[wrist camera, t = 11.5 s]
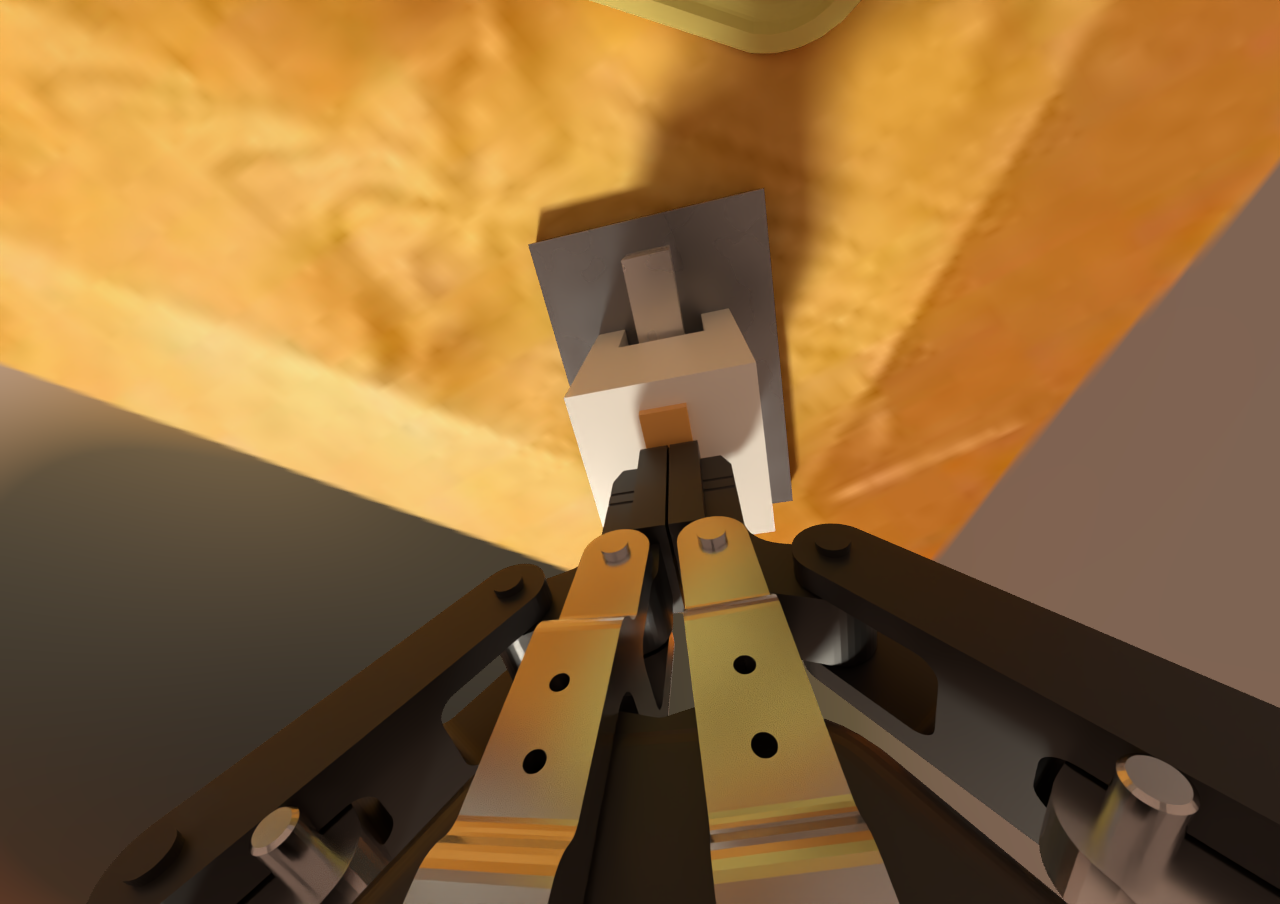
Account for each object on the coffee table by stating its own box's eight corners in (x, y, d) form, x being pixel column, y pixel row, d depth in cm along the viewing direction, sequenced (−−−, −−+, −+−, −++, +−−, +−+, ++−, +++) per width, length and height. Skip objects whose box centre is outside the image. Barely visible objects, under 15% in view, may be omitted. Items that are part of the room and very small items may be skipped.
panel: (535, 242, 18) (511, 249, 15) (759, 188, 17) (775, 186, 14) (613, 513, 23) (605, 555, 20) (787, 488, 22) (803, 528, 19)
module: (598, 335, 18) (561, 402, 12) (728, 308, 17) (757, 365, 11) (628, 452, 20) (609, 559, 14) (745, 433, 20) (777, 537, 14)
